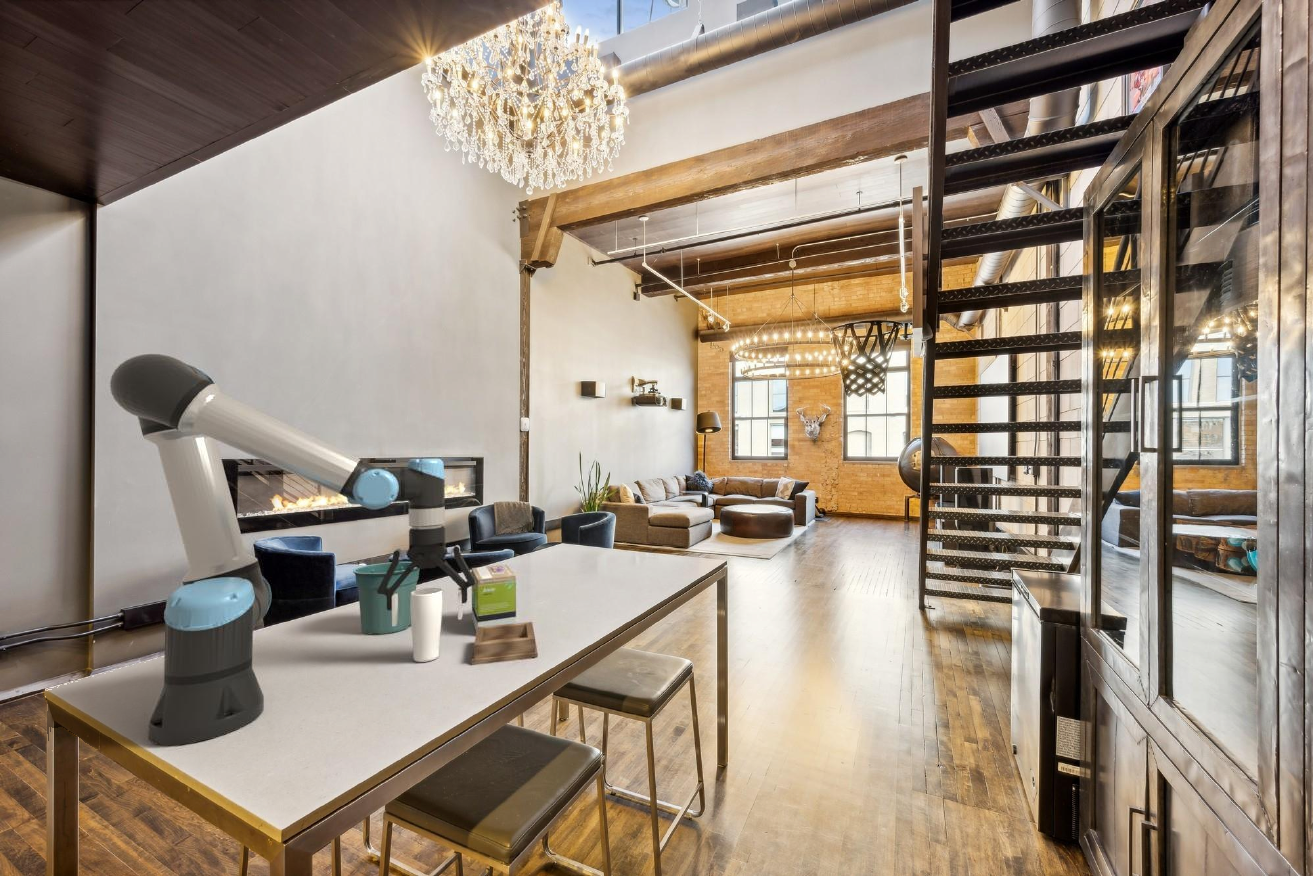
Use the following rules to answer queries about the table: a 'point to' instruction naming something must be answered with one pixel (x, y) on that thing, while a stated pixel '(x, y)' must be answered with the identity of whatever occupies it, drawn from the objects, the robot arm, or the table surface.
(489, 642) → the walnut dock
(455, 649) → the table surface
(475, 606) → the tea box
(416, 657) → the drinking glass
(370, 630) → the flower pot
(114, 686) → the table surface
